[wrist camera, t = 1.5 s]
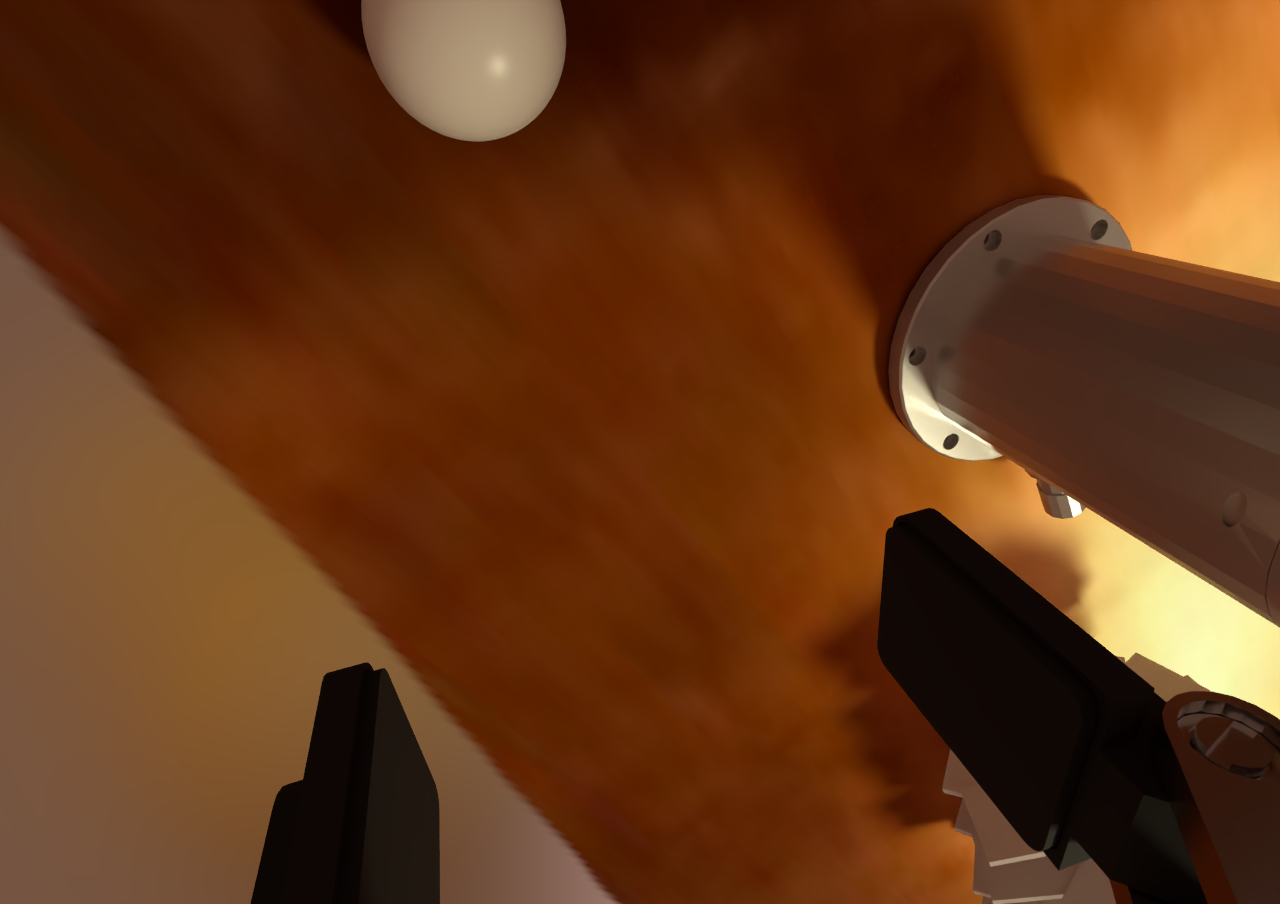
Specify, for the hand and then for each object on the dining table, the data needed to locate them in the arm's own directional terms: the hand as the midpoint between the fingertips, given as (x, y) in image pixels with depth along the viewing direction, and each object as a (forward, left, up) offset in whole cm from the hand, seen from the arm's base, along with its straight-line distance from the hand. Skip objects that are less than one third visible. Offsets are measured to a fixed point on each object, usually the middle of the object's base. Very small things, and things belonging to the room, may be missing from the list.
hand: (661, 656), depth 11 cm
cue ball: (+9, -4, -15) cm, 18 cm away
